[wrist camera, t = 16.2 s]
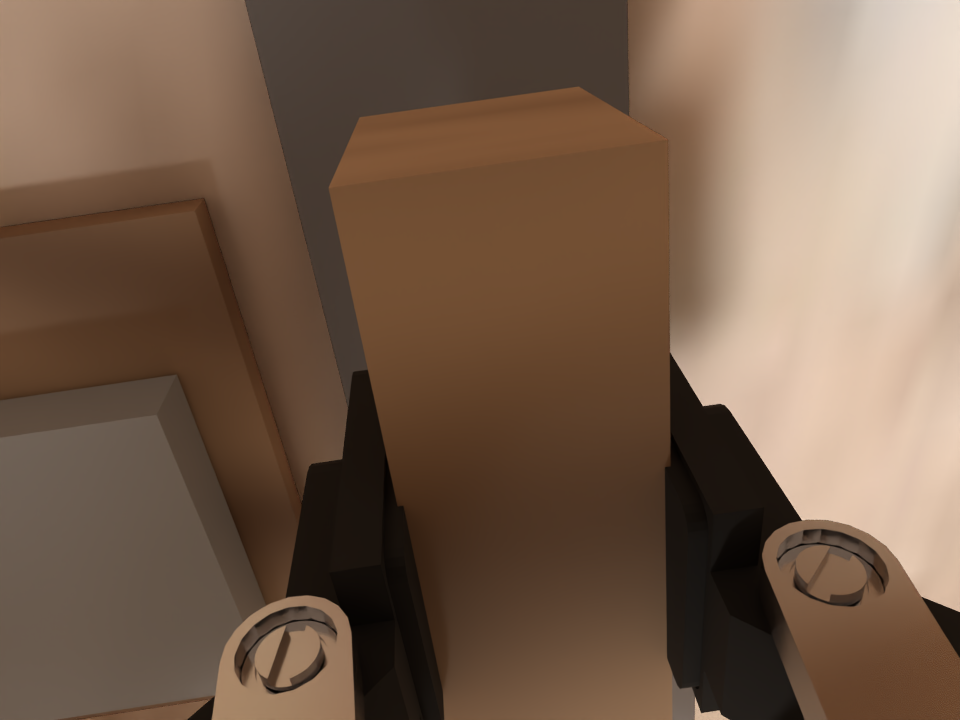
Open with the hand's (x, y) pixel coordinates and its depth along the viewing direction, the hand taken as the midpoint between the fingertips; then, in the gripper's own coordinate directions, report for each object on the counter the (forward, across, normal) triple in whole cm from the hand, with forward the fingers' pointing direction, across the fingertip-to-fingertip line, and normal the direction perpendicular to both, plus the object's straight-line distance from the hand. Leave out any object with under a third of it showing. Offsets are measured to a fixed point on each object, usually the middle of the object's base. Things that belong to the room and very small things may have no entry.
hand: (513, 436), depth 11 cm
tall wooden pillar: (+1, 0, +2) cm, 2 cm away
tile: (+5, +11, +10) cm, 16 cm away
